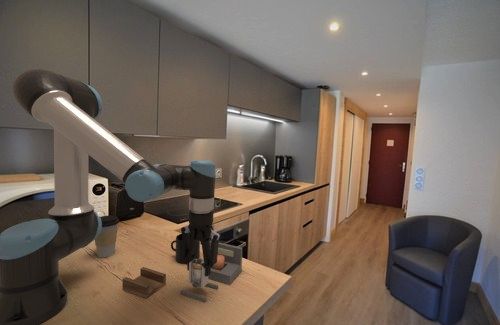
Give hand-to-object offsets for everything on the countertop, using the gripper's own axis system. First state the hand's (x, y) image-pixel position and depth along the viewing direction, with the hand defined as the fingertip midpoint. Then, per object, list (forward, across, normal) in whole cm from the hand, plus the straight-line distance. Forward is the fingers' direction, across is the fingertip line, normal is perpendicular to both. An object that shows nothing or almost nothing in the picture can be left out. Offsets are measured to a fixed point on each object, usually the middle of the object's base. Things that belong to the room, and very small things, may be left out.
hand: (198, 282), depth 73 cm
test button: (+1, -1, -11) cm, 11 cm away
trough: (+3, +16, +6) cm, 18 cm away
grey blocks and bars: (+3, -1, -6) cm, 7 cm away
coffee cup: (+4, +47, -3) cm, 48 cm away
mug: (+3, +17, -15) cm, 23 cm away
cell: (0, 0, 0) cm, 0 cm away
